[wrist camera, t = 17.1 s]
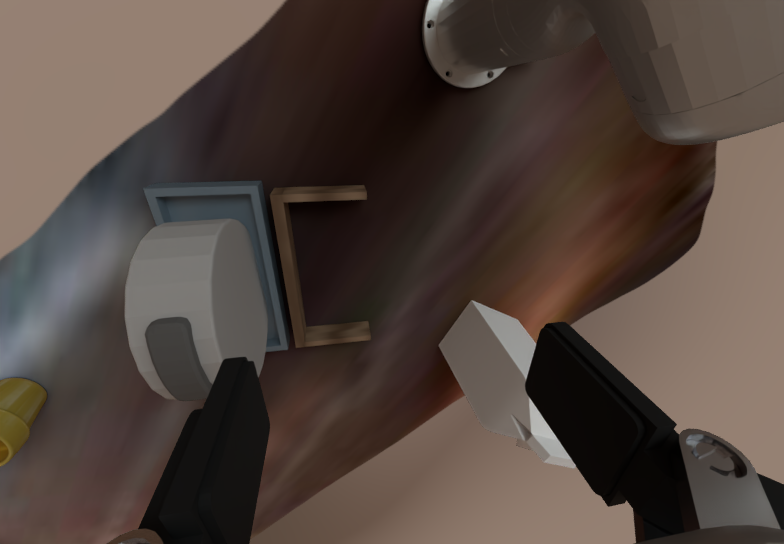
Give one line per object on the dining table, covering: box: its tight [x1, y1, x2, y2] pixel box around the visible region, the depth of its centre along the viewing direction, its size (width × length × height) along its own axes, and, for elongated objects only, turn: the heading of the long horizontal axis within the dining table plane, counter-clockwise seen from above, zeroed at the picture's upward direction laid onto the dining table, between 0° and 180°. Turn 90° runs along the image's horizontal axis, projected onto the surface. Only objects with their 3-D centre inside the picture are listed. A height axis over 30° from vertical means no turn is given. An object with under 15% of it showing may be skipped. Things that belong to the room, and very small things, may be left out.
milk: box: [438, 300, 576, 468], centre depth 51 cm, size 12×12×26 cm
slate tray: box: [143, 181, 290, 352], centre depth 46 cm, size 13×27×3 cm, turn 0°
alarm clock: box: [125, 218, 268, 401], centre depth 38 cm, size 21×8×20 cm, turn 1°
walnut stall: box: [270, 185, 371, 348], centre depth 48 cm, size 12×25×4 cm, turn 0°
